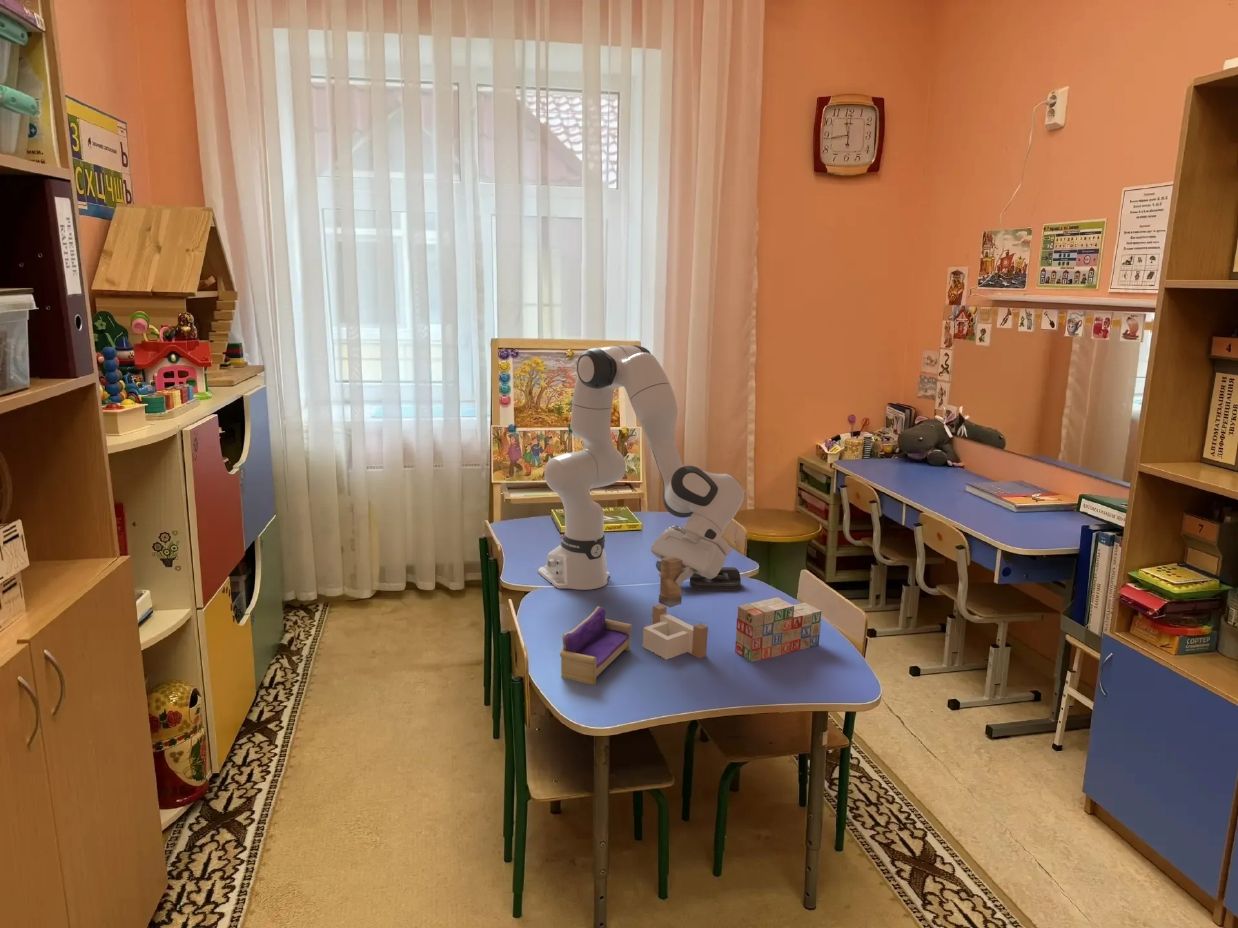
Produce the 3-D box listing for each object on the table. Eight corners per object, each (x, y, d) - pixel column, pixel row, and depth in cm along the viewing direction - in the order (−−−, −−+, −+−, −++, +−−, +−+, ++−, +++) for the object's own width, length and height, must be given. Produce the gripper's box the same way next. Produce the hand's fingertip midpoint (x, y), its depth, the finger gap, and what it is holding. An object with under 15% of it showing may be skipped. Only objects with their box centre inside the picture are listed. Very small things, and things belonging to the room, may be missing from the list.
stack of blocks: (802, 636, 211) (806, 590, 208) (819, 646, 206) (823, 599, 203) (734, 652, 201) (737, 604, 198) (750, 663, 196) (753, 614, 193)
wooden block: (658, 602, 199) (660, 558, 197) (670, 598, 201) (672, 555, 199) (669, 607, 196) (671, 563, 194) (681, 603, 198) (683, 560, 196)
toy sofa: (593, 687, 182) (594, 644, 180) (558, 678, 185) (559, 636, 183) (632, 650, 200) (633, 610, 198) (599, 642, 204) (600, 603, 202)
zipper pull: (654, 559, 244) (737, 558, 247) (653, 580, 245) (735, 579, 249) (659, 570, 235) (745, 569, 238) (658, 592, 237) (743, 591, 240)
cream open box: (631, 640, 205) (632, 612, 203) (658, 631, 211) (660, 603, 209) (678, 666, 193) (680, 636, 191) (706, 655, 198) (707, 626, 197)
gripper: (664, 516, 207) (633, 561, 203) (724, 537, 192) (692, 586, 188) (677, 530, 211) (646, 575, 207) (737, 552, 195) (705, 600, 191)
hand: (669, 580), depth 197 cm, fingers closed on wooden block, 3 cm apart
